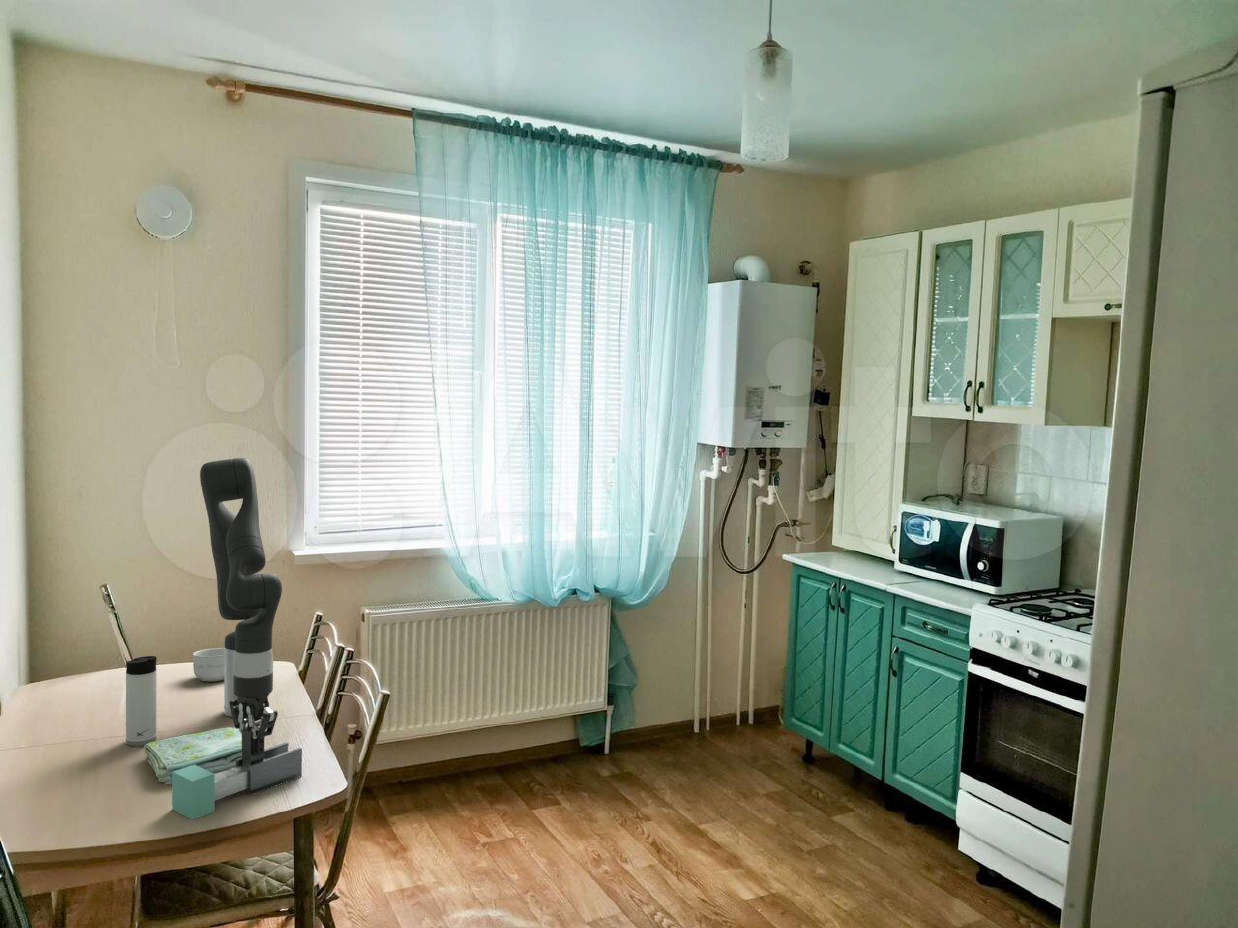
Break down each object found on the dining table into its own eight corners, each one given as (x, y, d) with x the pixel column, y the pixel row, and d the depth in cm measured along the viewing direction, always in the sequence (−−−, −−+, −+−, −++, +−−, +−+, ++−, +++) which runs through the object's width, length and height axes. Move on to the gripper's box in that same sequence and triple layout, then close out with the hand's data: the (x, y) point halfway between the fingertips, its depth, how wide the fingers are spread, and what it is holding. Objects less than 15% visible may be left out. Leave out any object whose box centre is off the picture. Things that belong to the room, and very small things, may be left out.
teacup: (184, 682, 250) (184, 654, 250) (208, 671, 261) (208, 644, 260) (230, 687, 248) (230, 658, 248) (252, 675, 259) (252, 648, 258)
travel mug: (144, 747, 204) (144, 661, 203) (119, 744, 205) (119, 659, 204) (163, 738, 210) (163, 654, 209) (139, 735, 211) (139, 652, 210)
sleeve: (286, 769, 195) (286, 742, 195) (301, 776, 192) (301, 748, 192) (235, 787, 185) (235, 759, 185) (251, 795, 182) (251, 765, 182)
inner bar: (262, 774, 189) (262, 722, 188) (272, 778, 187) (273, 726, 186) (199, 796, 178) (199, 741, 177) (209, 801, 176) (210, 746, 175)
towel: (141, 760, 198) (141, 737, 198) (241, 740, 211) (241, 719, 211) (158, 789, 184) (158, 765, 184) (264, 766, 197) (264, 744, 197)
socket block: (194, 801, 179) (194, 764, 178) (214, 811, 175) (214, 773, 174) (172, 809, 175) (172, 771, 174) (192, 819, 171) (192, 781, 170)
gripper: (290, 673, 183) (289, 755, 184) (249, 660, 191) (248, 739, 192) (257, 682, 177) (256, 767, 178) (216, 668, 184) (216, 749, 186)
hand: (252, 752), depth 185 cm, fingers closed on inner bar, 3 cm apart
